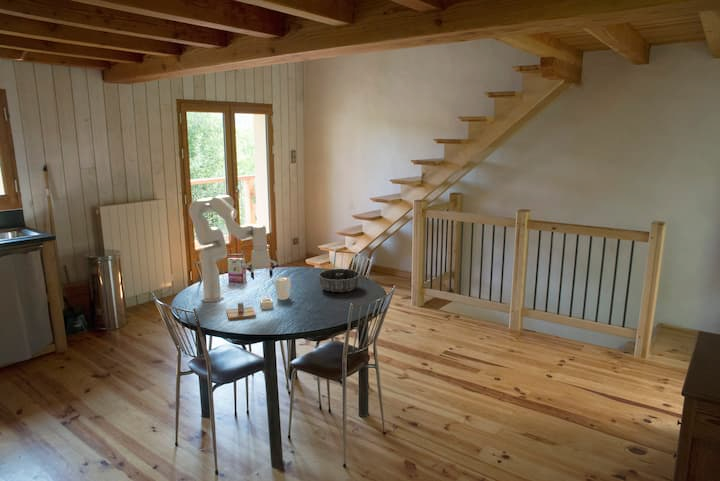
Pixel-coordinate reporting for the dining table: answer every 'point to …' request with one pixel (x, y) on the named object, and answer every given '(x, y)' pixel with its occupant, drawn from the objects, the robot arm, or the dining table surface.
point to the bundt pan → (339, 280)
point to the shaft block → (241, 312)
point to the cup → (282, 287)
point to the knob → (266, 303)
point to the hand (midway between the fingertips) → (262, 278)
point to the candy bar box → (236, 270)
